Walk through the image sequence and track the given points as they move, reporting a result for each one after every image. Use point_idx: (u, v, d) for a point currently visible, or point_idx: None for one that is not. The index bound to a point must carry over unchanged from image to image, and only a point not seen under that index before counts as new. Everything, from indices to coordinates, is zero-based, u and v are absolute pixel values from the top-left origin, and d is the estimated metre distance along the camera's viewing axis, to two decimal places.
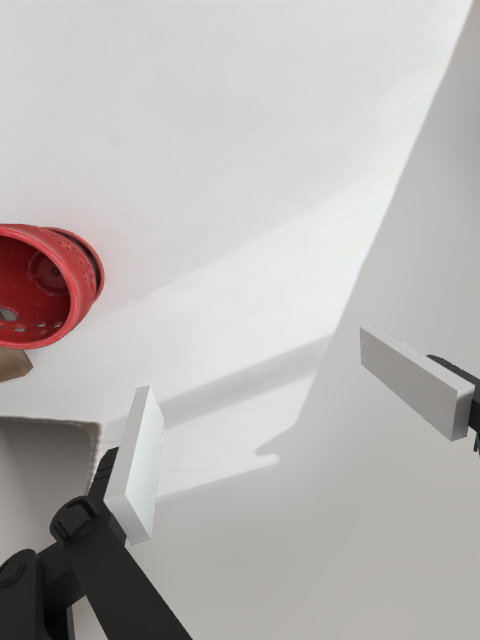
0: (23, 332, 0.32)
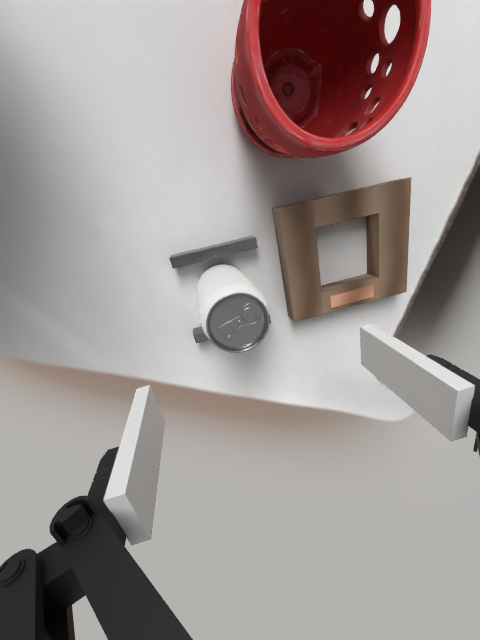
0: (382, 94, 0.22)
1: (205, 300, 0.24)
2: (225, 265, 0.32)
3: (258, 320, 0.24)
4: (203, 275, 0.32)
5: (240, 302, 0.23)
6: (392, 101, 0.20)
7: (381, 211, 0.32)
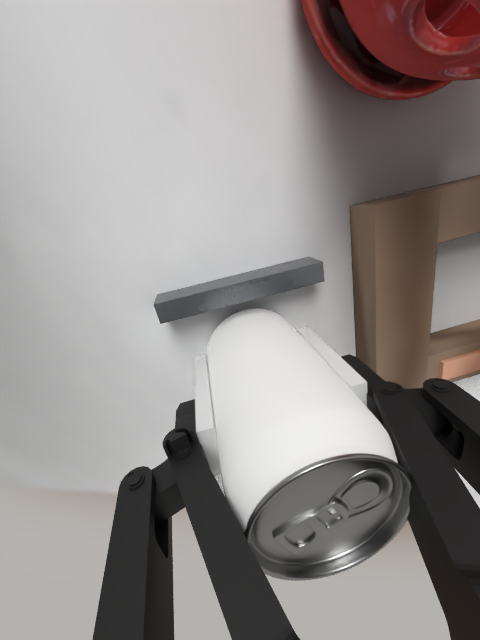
0: None
1: (239, 449, 0.09)
2: (261, 313, 0.17)
3: (382, 503, 0.09)
4: (220, 333, 0.17)
5: (344, 471, 0.08)
6: None
7: None
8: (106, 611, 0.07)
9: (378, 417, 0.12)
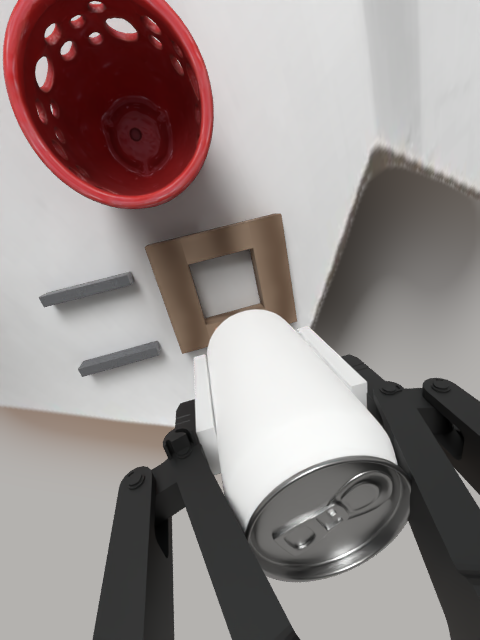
0: None
1: (238, 451, 0.09)
2: (261, 314, 0.17)
3: (381, 505, 0.09)
4: (220, 334, 0.17)
5: (344, 473, 0.08)
6: (191, 160, 0.20)
7: (255, 246, 0.32)
8: (106, 611, 0.07)
9: (378, 417, 0.12)
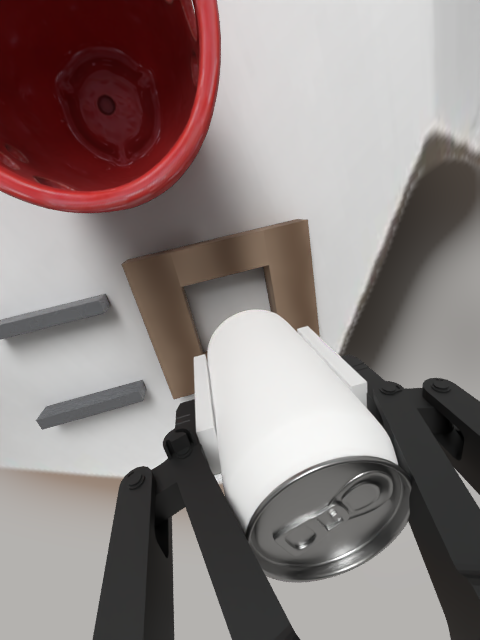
0: None
1: (239, 451, 0.09)
2: (261, 314, 0.17)
3: (382, 505, 0.09)
4: (220, 334, 0.17)
5: (344, 473, 0.08)
6: (182, 133, 0.12)
7: (272, 263, 0.24)
8: (106, 611, 0.07)
9: (378, 417, 0.12)
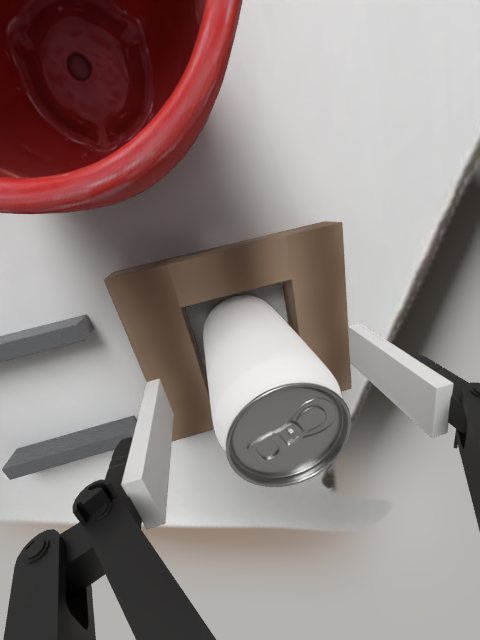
0: None
1: (223, 387, 0.12)
2: (248, 298, 0.20)
3: (328, 428, 0.12)
4: (214, 314, 0.20)
5: (297, 398, 0.11)
6: (181, 78, 0.07)
7: (296, 277, 0.19)
8: None
9: (463, 419, 0.11)
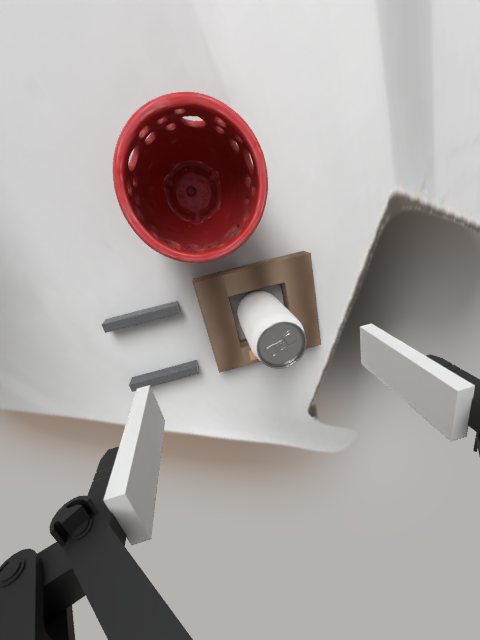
0: (251, 209, 0.27)
1: (255, 326, 0.30)
2: (262, 292, 0.38)
3: (297, 343, 0.30)
4: (244, 300, 0.38)
5: (284, 329, 0.29)
6: (247, 225, 0.25)
7: (287, 280, 0.37)
8: None
9: None
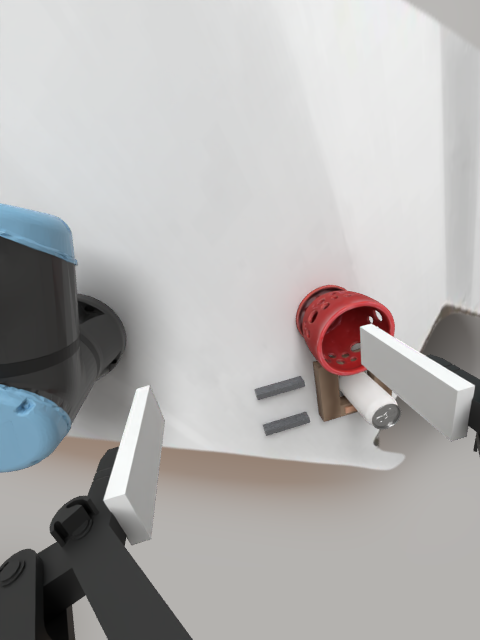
0: None
1: (369, 404, 0.49)
2: None
3: (395, 414, 0.49)
4: (345, 376, 0.56)
5: (389, 407, 0.48)
6: None
7: None
8: None
9: None
